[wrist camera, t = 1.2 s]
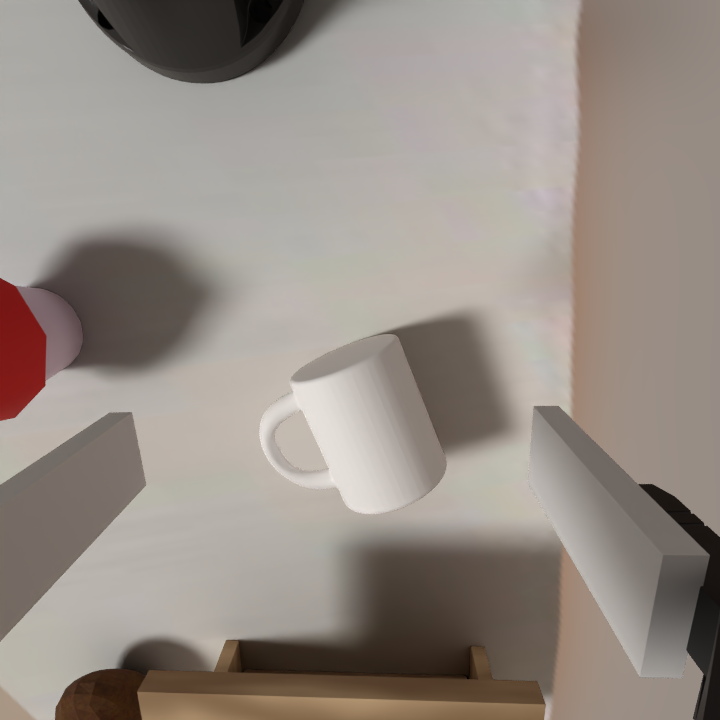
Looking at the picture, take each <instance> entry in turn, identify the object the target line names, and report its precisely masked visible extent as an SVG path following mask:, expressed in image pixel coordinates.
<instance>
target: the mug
mask: <svg viewBox="0 0 720 720" xmlns="http://www.w3.org/2000/svg"><path fill="white" fill-rule="evenodd" d="M290 385H291V387H292V389H293V391H291V392H289V393H287V394H286V395H284V396H282V397H280V398H279V399H278V400H276V401H275V402H274V403H272V404H271V405H270V406H269V408H268V409H267V410H266V411H265V413H264V415H263V417H262V419H261V423H260V429H259V435H260V442H261V445H262V449H263V451H264V453H265V455H266V457H267V459H268V460H269V462H270V463H271V464H272V466H273V467H274V468H275V469H276V470H277V471H278V472H279V473H280V474H282V475H283V476H284V477H285V478H287V479H288V480H290V481H292V482H293V483H295V484H297V485H300V486H302V487H306V488H310V489H332V488H338V489H339V491H340V494H341V496H342V498H343V500H344V502H345V504H346V505H347V507H348V508H350V509H351V510H353V511H355V512H358V513H362V514H382V513H387V512H391V511H395V510H398V509H400V508H403V507H405V506H408V505H410V504H412V503H414V502H416V501H417V500H419V499H421V498H422V497H424V496H425V495H426V494H428V493H429V492H430V491H431V490H432V489H433V488H434V487H435V486H436V485H437V484H438V483H439V482H440V480H441V479H442V477H443V475H444V473H445V470H446V458H445V456H444V453H443V451H442V448H441V445H440V443H439V440H438V438H437V435H436V433H435V430H434V428H433V425H432V422H431V420H430V417H429V415H428V412H427V410H426V407H425V404H424V402H423V399H422V397H421V394H420V392H419V389H418V387H417V384H416V381H415V379H414V376H413V374H412V371H411V369H410V366H409V364H408V361H407V358H406V356H405V353H404V351H403V348H402V346H401V343H400V341H399V338H398V337H397V336H396V335H393V334H383V335H377V336H372V337H369V338H365V339H362V340H359V341H356V342H353V343H350V344H348V345H345V346H343V347H340V348H338V349H336V350H333V351H331V352H329V353H327V354H325V355H323V356H321V357H319V358H317V359H315V360H313V361H312V362H310V363H308V364H307V365H305V366H304V367H302V368H301V369H299V370H298V371H297V372H296V373H295V374H294V375H293V376H292V377H291V379H290ZM299 411H303V413H304V415H305V418H306V420H307V422H308V424H309V426H310V428H311V431H312V433H313V435H314V437H315V439H316V441H317V444H318V446H319V448H320V450H321V452H322V455H323V457H324V459H325V461H326V463H327V465H328V468H327V469H322V470H313V471H309V470H302V469H299V468H297V467H295V466H294V465H292V464H291V463H290V462H289V461H288V460H287V458H286V457H285V456H284V455H283V453H282V451H281V450H280V448H279V446H278V444H277V442H276V439H275V432H276V429H277V428H278V426H279V425H280V424H281V423H282V422H283V421H284V420H286V419H287V418H288V417H290V416H291V415H293V414H295V413H297V412H299Z"/></svg>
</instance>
